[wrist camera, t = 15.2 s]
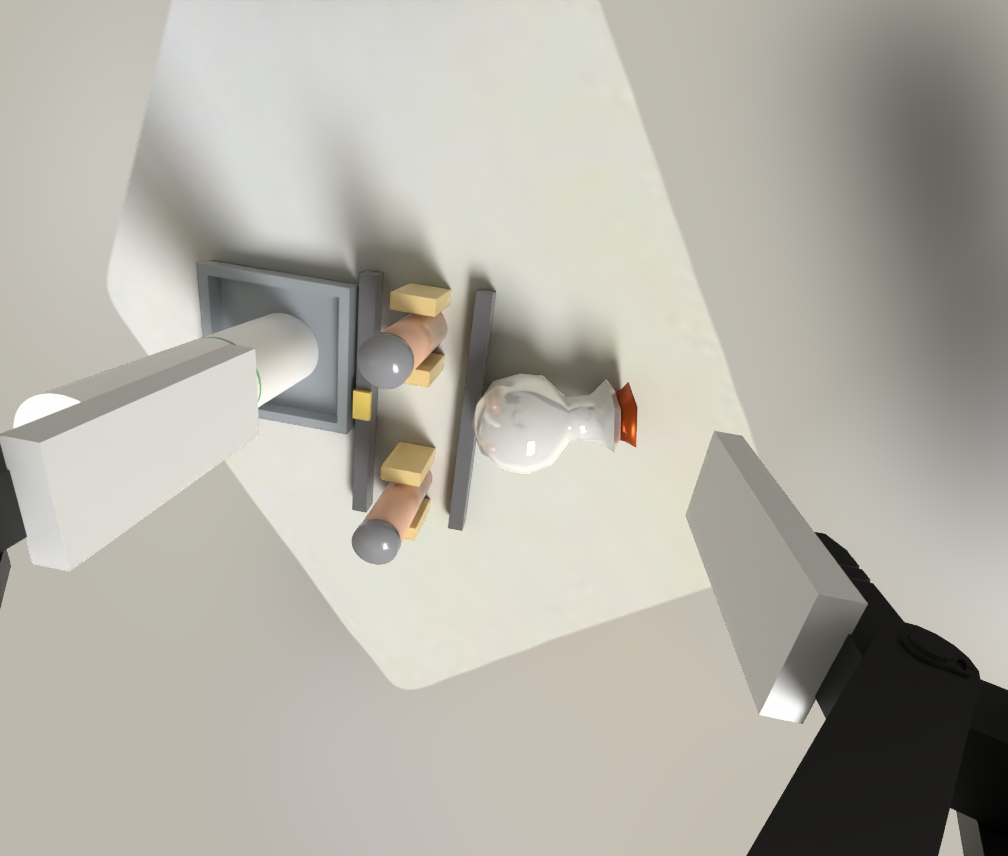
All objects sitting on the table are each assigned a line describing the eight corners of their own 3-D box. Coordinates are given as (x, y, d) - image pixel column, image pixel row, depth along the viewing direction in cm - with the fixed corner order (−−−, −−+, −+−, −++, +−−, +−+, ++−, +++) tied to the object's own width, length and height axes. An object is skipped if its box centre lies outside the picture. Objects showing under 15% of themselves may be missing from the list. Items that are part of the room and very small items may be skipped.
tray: (212, 260, 52) (196, 262, 49) (359, 284, 51) (349, 288, 49) (223, 401, 58) (209, 409, 55) (355, 425, 57) (346, 434, 55)
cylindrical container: (238, 346, 54) (-5, 446, 31) (276, 297, 52) (42, 367, 29) (292, 394, 56) (97, 523, 33) (332, 349, 53) (150, 455, 30)
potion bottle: (474, 392, 55) (616, 383, 55) (478, 483, 53) (626, 475, 53) (464, 360, 46) (634, 349, 46) (468, 469, 44) (647, 458, 44)
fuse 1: (408, 302, 51) (358, 331, 39) (450, 309, 51) (412, 340, 39) (405, 344, 53) (356, 383, 41) (446, 351, 52) (408, 393, 41)
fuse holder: (366, 270, 50) (341, 277, 45) (496, 291, 50) (486, 301, 44) (358, 500, 61) (337, 529, 55) (465, 520, 60) (454, 552, 54)
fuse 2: (397, 456, 58) (352, 520, 46) (434, 463, 58) (398, 529, 46) (395, 489, 59) (351, 559, 48) (431, 496, 59) (396, 568, 47)
